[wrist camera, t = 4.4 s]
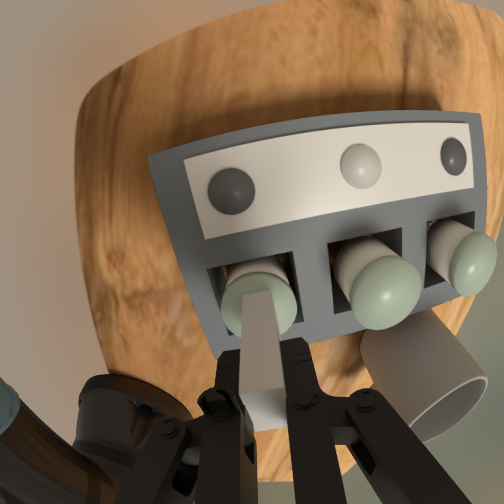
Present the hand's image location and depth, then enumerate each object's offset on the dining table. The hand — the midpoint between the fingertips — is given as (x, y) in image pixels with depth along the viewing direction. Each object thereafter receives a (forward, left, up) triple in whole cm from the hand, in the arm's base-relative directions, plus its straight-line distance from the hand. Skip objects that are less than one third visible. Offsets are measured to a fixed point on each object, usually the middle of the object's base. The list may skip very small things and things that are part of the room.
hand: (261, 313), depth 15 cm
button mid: (+7, 0, -3) cm, 8 cm away
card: (+7, +6, -2) cm, 10 cm away
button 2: (0, 0, -5) cm, 5 cm away
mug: (+11, -12, -7) cm, 17 cm away
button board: (+7, +2, -6) cm, 10 cm away
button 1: (+14, 0, -3) cm, 14 cm away
